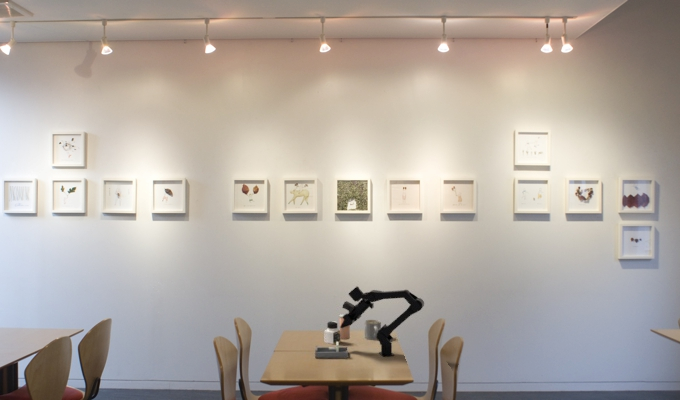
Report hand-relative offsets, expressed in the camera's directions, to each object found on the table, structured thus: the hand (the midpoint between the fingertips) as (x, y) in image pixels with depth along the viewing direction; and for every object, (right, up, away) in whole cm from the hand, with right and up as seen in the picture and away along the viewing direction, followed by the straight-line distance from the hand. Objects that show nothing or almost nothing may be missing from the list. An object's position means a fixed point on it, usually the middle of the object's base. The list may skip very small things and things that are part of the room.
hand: (342, 326), depth 265 cm
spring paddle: (-5, -12, -9) cm, 16 cm away
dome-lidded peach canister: (+1, -7, -1) cm, 7 cm away
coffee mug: (+19, -14, +24) cm, 34 cm away
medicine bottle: (-6, -14, +16) cm, 22 cm away
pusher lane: (-6, -13, -9) cm, 17 cm away
